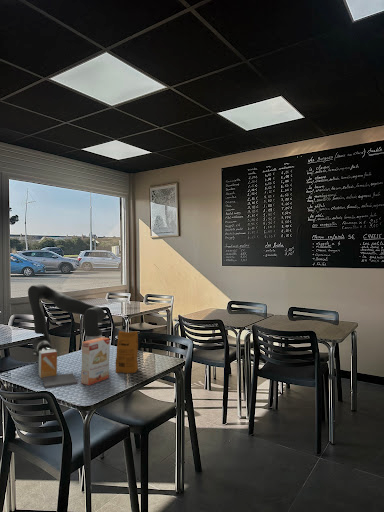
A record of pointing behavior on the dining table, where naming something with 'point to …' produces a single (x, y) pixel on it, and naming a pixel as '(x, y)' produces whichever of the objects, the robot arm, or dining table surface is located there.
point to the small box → (47, 363)
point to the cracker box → (95, 360)
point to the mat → (59, 380)
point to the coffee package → (127, 352)
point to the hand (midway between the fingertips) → (47, 355)
